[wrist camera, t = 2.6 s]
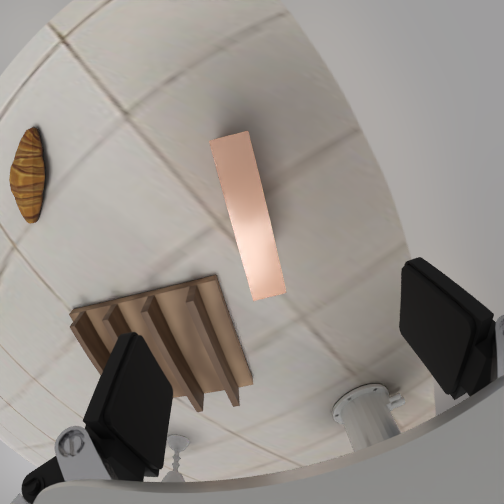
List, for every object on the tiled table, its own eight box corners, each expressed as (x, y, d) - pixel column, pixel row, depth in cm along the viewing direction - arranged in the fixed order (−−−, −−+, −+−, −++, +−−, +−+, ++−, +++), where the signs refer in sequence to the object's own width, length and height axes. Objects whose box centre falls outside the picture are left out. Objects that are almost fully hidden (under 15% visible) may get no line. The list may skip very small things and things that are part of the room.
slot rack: (216, 274, 37) (214, 296, 32) (252, 378, 44) (255, 402, 39) (73, 309, 37) (58, 328, 32) (128, 395, 45) (122, 417, 40)
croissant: (54, 221, 33) (35, 232, 28) (22, 219, 32) (3, 229, 27) (55, 124, 28) (34, 124, 23) (22, 129, 27) (1, 130, 23)
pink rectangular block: (241, 136, 31) (248, 130, 20) (268, 246, 36) (286, 292, 25) (216, 142, 31) (209, 140, 20) (245, 252, 36) (253, 301, 25)
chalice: (156, 434, 50) (146, 503, 33) (182, 430, 49) (176, 503, 33) (174, 449, 53) (168, 513, 36) (199, 445, 52) (197, 513, 35)
